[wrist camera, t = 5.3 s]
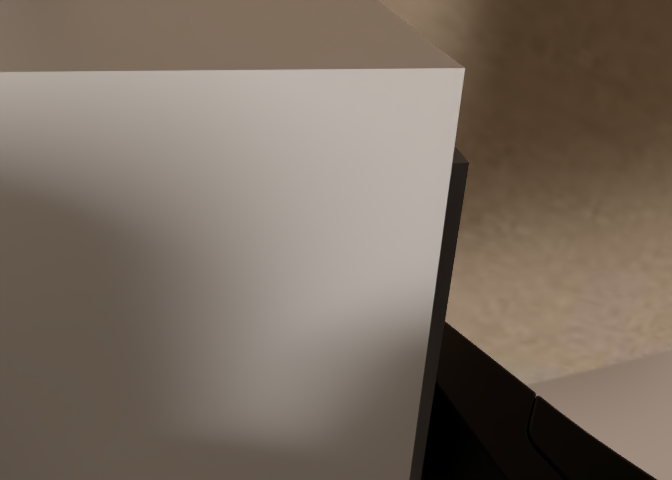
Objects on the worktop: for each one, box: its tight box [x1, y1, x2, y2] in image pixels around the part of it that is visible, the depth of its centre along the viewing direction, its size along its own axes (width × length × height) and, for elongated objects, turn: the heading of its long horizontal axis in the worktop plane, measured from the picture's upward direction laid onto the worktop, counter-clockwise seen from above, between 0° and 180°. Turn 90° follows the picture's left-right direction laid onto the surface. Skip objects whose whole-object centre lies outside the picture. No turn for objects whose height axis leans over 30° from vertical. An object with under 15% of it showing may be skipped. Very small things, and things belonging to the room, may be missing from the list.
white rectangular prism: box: [0, 0, 469, 480], centre depth 8 cm, size 4×10×6 cm, turn 179°
